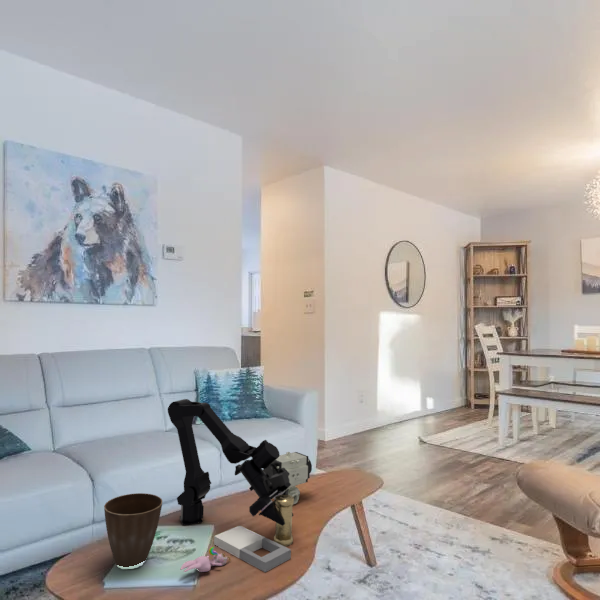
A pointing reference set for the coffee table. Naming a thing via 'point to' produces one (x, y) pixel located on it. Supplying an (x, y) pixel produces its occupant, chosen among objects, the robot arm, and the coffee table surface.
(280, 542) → the brass fitting
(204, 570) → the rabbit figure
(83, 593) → the coffee table surface
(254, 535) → the grey holder base
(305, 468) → the ball valve
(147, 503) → the plant pot
